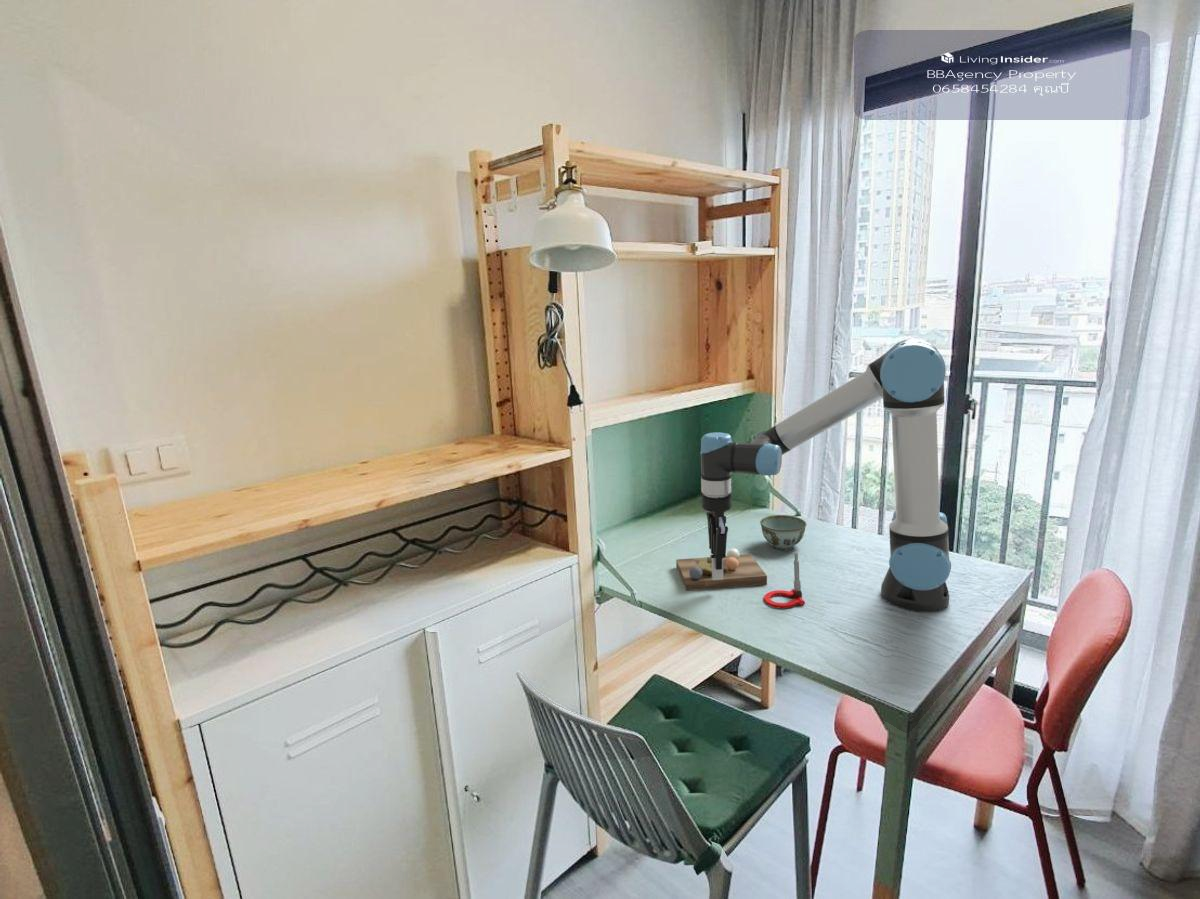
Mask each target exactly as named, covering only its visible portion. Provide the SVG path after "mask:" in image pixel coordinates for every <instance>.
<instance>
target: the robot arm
mask: <svg viewBox="0 0 1200 899" xmlns="http://www.w3.org/2000/svg"><path fill="white" fill-rule="evenodd" d="M946 368H947V367H946V363H945V359H944V358H943V356H942V354H941V353H940V351H939V350H938V349H937V348H936V346H934V345H933V344H932V343H930V342H929V341H928V340H924V339H920V338H908V339H904V340H901V341H900V342H897V343H896V344H895V345H893V346H892V347H891V348H890V349H889V350H887V351H886V352H884V353H883V354H882V355H881V356H879V357H878V358H876V359H875V360H874V361H872V362H870V363H869V364H867V366H866V369H865V371H864V372H862V373H860V374H858V375H857V376H856V377H854V378H852V379H851V380H848V381H847V382H845V383H844V384H842V385H841V386H838V387H837V388H835V389H834V390H832V391H831V392H828V393H827V394H825V395H824V396H822V397H820V398H819V399H817V400H815V401H814V402H812V403H810V404H809V405H807V406H805V407H803V408H802V409H800V410H798V411H797V412H795V413H793V414H792V415H790V416H789V417H787V418H785V419H783V420H782V421H780V422H778V423H776V424H775V425H774V426H772V427H770V428H768V429H766V430H763V431H762V432H759V433H758V434H757V435H756V436H755V438H753V440H751V442H750V443H749V442H748V443H747V442H736V441H735V442H734V441H733V440H732V436H731V435H730V434H729V433H728V432H727V433H726V432H725V433H724V432H709V433H706V434H704V435H703V436H702V437H701V439H700V465H701V466H700V469H701V476H700V478H701V479H700V484H701V487H700V489H701V491H700V492H701V493H702V494H701V507H702V509H703V510H704V511H707V512H706V514H705V515H706V520H707V532H708V544H709V545H708V548H709V550H710V553H711V554H710V557H711V558H712V579H713V580H723V558H725V557H726V556H727V555H726V553H727V538H728V531H729V526H727V525H726V524H727V516H726V515H725V512H727V511H729V510H730V509H732V505H733V504H732V503H733V502H732V494H731V493H732V484H733V483H734V480H733V479H732V473H736V474H737V473H738V474H749V475H759V476H776V475H778V474H779V473H780V471H781V467H782V465H783V464H782V462H783V455H786V454H787V453H788V452H790V451H791V450H793V449H794V448H796V447H799V446H800V445H802V444H803V443H805V442H807V441H809V440H811V439H813V438H815V437H817V436H818V435H820V434H821V433H823V432H825V431H827V430H828V429H830V428H832V427H834V426H836V425H837V424H839V423H840V424H841V422H844V421H845V420H846V419H848V418H850V417H852V416H855V414H858V413H859V412H861V411H863V410H865V409H867V408H868V407H869V406H872V405H874V404H875V403H877V402H878V401H881V400H882V402H883V403H882V404H883V407H882V408H883V409H884V410H886V411H887V412H888V413H890V415H891V431H892V452H893V456H892V457H893V472H894V473H893V474H894V475H893V476H894V496H895V498H894V500H895V510H894V511H893V514H892V519H891V522H890V523H889V525H888V527H889V529H888V530H889V531H888V532H889V553H890V555H889V556H890V557H889V560H888V561H889V562H888V564H889V567H888V570H887V571H886V574H885V576H884V579H883V581H882V583H881V584H880V586H881V587H880V596H881V597H882V598H883V600H885V601H886V602H887V603H889V604H891V605H893V606H894V607H896V608H899V609H902V610H906V611H910V612H917V613H936V612H941V611H944V610H945V609H946V608H948V606H949V603H950V592H949V589H948V586H947V582H946V581H947V580H948V578H949V576H950V573H951V569H952V563H951V560H950V552H949V551H950V547H949V525H948V518H947V516H946V514H945V513H944V512H940V508H941V507H940V480H939V455H938V454H939V452H938V451H939V450H938V423H937V422H938V421H937V420H938V418H937V416H938V414H937V412H938V411H939V410H940V409H941V408H942V407H943V406H944V405H945V377H946V374H947V372H946Z"/></svg>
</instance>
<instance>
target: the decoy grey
mask: <svg viewBox="0 0 1200 899" xmlns="http://www.w3.org/2000/svg"><path fill="white" fill-rule="evenodd" d="M689 574H690V576H691V578H693V579H699V578H701V576H702V570H701V568H700V567H698V566H694V567H692V568H691V569H690V571H689Z"/></svg>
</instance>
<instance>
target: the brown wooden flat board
mask: <svg viewBox="0 0 1200 899" xmlns="http://www.w3.org/2000/svg"><path fill="white" fill-rule="evenodd" d="M706 557H707V556H706ZM706 557H692V558H690V557H689V558H679V559H678V558H677V559H676V561H675V563H676V564H675V565H676V569H677V572H678V574H679V576H680V579H681V582H682V584H683V586H684V588H685V591H697V590H708V589H709V590H710V589H711V590H713V589H724V588H737V587H749V586H750V587H751V586H762V585H763V586H764V585H767V584H768V575H767V574H766V572H764V570H763V568H762V567H761V566H760V565H759V564H758V562H757V561H756V559H755V558H754V557H753V555H752V554H751V553H748V554H747V553H745V554H740V556H739V558H738V563H739V565H738V568H737V569H735V570H730V569H728V568H727V567H726V560H727V559H728V556H727V555H726V557H725V558H723V580H713V579H712V575H706V574H703V573H702V576H701V578H699V579H693V578H691V576H690V574H689V571H690V569H691V568H692V567H694V566H698V567H699V560H700V559H702V558H706Z"/></svg>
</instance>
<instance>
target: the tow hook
mask: <svg viewBox="0 0 1200 899" xmlns="http://www.w3.org/2000/svg"><path fill="white" fill-rule="evenodd" d="M798 554H799V553H798V552H796V551H795V552H794V560H793V570H794V571H793V572H794V575H793V576H794V580H793V589H791V590H782V589H780V590H779V589H777V590H771V591H769V592H767V593H765V594H764V596H763V602H764V603H765V604H766V605H767V606H769V607H773V608H775V609H776V608H777V609H790V608H792V607H795V606H797V605H800V606H804V605H805V604H806V602H805V600H804V599H803V591H802V589H801V588H802V587H801V586H802V585H801V580H800V560H799V555H798ZM775 596H783V597H785V596H786V597H788V598H790V597H791V600H790V601H788V602H787V601H786V602H776V601H774V600H772V598H773V597H775Z"/></svg>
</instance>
